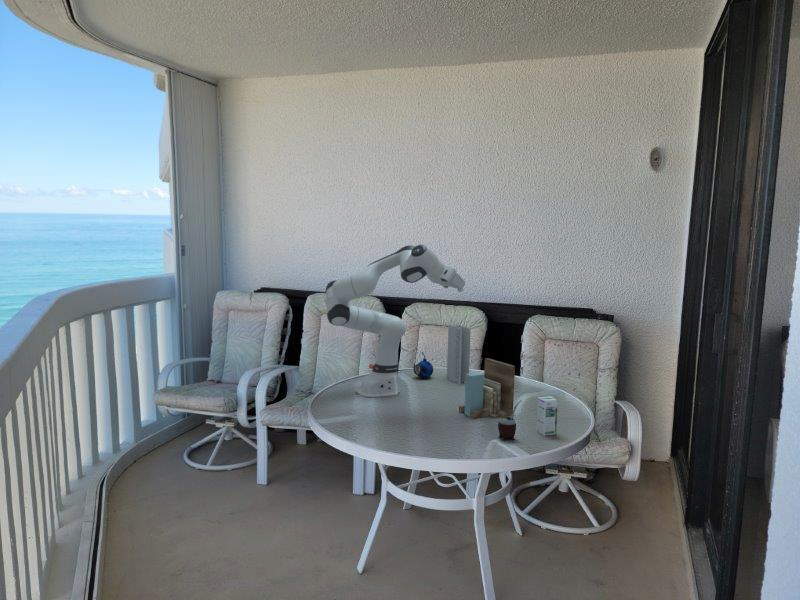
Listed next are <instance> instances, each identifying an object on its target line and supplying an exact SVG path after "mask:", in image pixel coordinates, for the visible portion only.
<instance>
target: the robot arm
mask: <svg viewBox="0 0 800 600" xmlns="http://www.w3.org/2000/svg"><path fill="white" fill-rule="evenodd" d="M398 266H399V270H400V271H399V273H400V278H401V279H402V280H403V281H404V282H405V283H409V284H410V283H411V284H414V283H417V282H418V281H421V280H423V278H424V277H426V278H427V279H428V280H429V281H430V282H431V283H434V284H438V285H440V286H442V287H443V288H444V289H448V288H453V289H456V290H457V291H458V292H459V293H463V291H464V287H465V285H466V281H465V280H464V278H463V277H462V276H461V275H460V274H459V273H458V272H457V269H456V268H454V267H452V266H450V265H449V264H447V263H446V262H444V261H443V260H442V259H440V258H439V257H438V255H437V253H435V251H433V250H432V248H430V247H429V246H428V245H425V244H417V245H416V246H415V245H411V244H410V245H405V246H402V247H401V248H400V249H399V250H397V251H395V252H393V253H391V254H389V255H385V256H384V257H381V258H379V259H378V260H375V261H373V262H370V264H368V265H366V267H364V268H363V269H362V270H359V271H357V272H355V273H352V274H349V275H346V276H344V277H342V278H339V279H337V280H331V281H329V282H328V283H327V285H326V287H325V309H326V317H327V319H328V323H330V324H331V325H333V326H337V327H339V326H341V327H344V328H347V329H350V330H355V331H360V332H364V333H365V332H366V333H372V334H376V335H379V336H380V340H379V342H378V345H377V346H376V349H375V363H374V364H371V363H369V365H368V368H369V369H372V370H371V372H370V373H368V374H367V375H366V376H364V378H362V379H361V383H360V386H359V387H360V388H357V389H355V393H356V392H357V393H358V394H357V393H356V394H357V395H359V394H360V395H359V396H361V395H362V396H361V397H365V398H378V397H391V396H398V395H399V393H400V392H401V387H400V382H399V370H400V368H399V362H398V361H399V347H400V344H401V343H400V342H401V340H402V337H403V336H404V335H405V333H406V330H407V325H406V323H405V321H404V320H403V319H402V318H401V317H399V316H396V315H393V314H390V313H385V312H381V311H377V310H373V309H369V308H364V307H360V306H357V305H351V302H350V301H353V300H357V299H360V298H364V297H367V296H369V295H371V294H372V293H373V292H374V290H375V289H376V287H377V285H378V283H379V282H378V281H379V280H380V278H381V277H382V275H383V274H384V273H385V272H387V271H389V270H392V269H394V268H396V267H398Z"/></svg>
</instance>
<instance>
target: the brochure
mask: <svg viewBox="0 0 800 600" xmlns="http://www.w3.org/2000/svg"><path fill="white" fill-rule="evenodd" d="M447 326H448V327H447V333H448V334H447V360H446V361H447V363H446V365H447V366H446V367H447V368H446V380H449V379H450V380H449V381H451V380H452V381H451V382H453V381H454V382H453V383H455V382H456V383H455V384H457V383H458V384H457V385H459V384H460V385H461V383H463V382H466V374H470V362H471V361H470V360H471V333H472V332H471V330H472V329H471V328H470V327H467V326H463V325H459V324H456V325H451V324H450V325H447Z"/></svg>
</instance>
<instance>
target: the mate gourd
mask: <svg viewBox="0 0 800 600" xmlns="http://www.w3.org/2000/svg"><path fill="white" fill-rule="evenodd" d="M521 402H522V399H521V400H519V401H518V402H517V403H516V404H515V405H514V406H513V413H512V415H510V416H503V417H499V420H498V422H497V423H498V424H497V429H498V434H499V435H498V438H502V441H506V440H508V441H509V440H510V441H515V435H516V430H517V422H516V419H515V418H514V415H515V413H516V409H517V407H518V406H519V404H520V403H521Z"/></svg>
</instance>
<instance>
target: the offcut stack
mask: <svg viewBox="0 0 800 600" xmlns="http://www.w3.org/2000/svg"><path fill="white" fill-rule="evenodd" d="M500 396H501V383H498V382H495V381H492V380H489V379H486V378H484V388H483V409H484V408H487V409H489V413H490V414H491V413H498V412H500Z"/></svg>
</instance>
